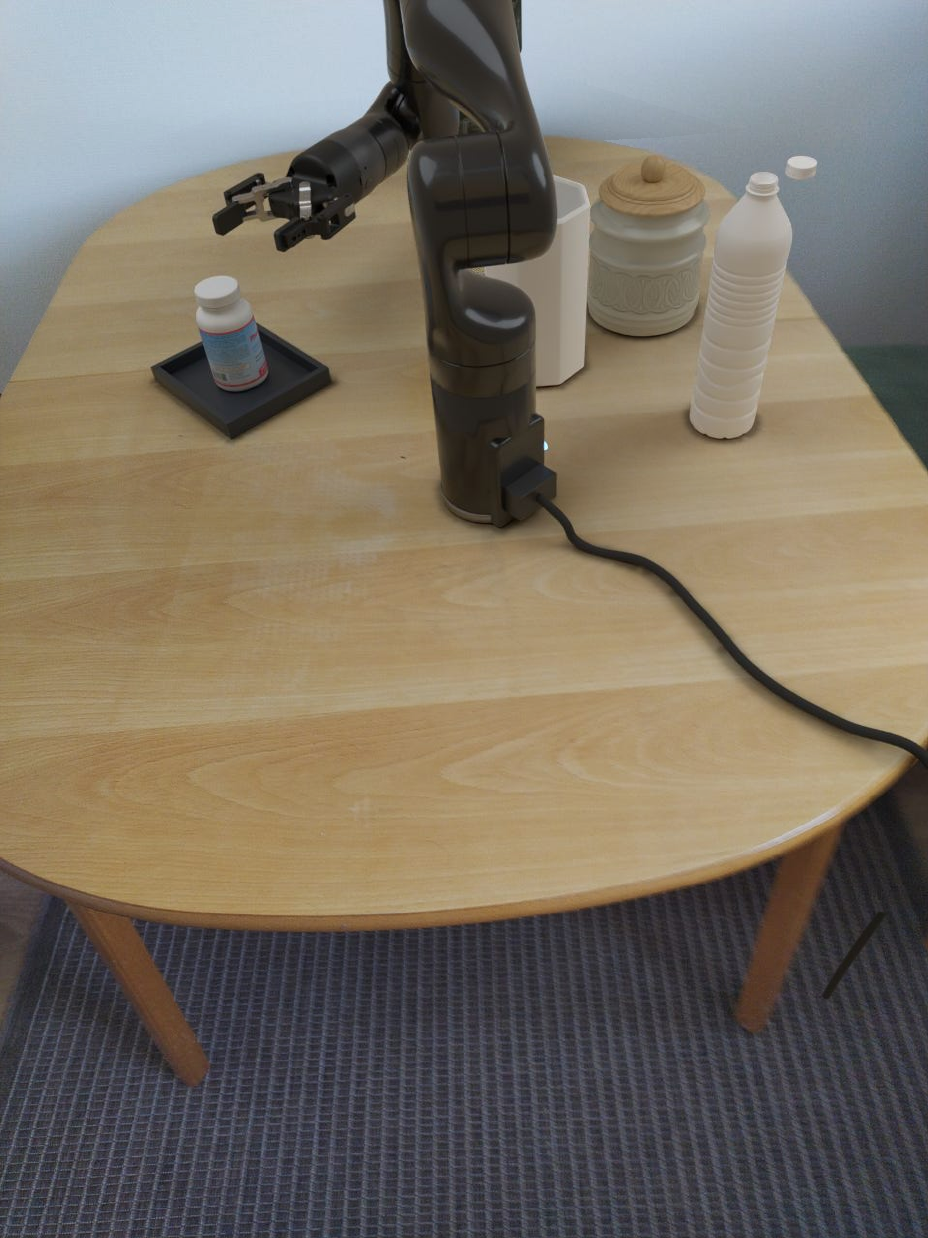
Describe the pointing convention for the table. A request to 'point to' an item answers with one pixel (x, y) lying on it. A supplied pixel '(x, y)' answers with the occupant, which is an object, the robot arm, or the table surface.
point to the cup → (558, 287)
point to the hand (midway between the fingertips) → (246, 234)
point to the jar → (647, 248)
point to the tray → (244, 409)
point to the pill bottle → (229, 334)
